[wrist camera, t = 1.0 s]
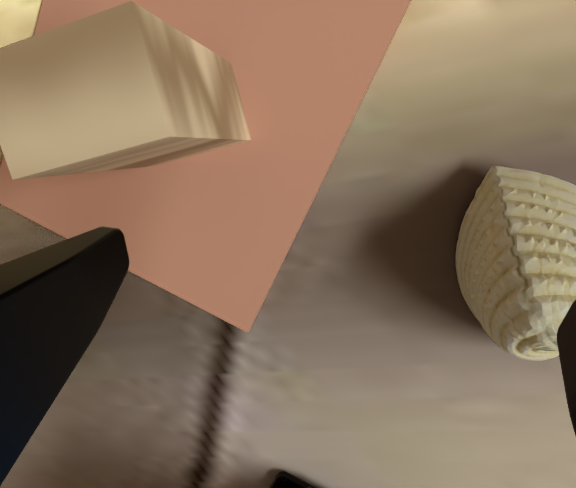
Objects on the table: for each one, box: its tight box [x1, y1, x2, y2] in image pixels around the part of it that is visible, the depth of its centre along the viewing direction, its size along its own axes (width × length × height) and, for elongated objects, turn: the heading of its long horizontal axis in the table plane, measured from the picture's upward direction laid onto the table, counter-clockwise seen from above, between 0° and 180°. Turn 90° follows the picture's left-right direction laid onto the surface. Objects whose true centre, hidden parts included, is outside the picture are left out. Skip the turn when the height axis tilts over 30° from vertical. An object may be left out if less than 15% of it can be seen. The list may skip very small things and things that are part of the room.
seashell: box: [455, 165, 576, 361], centre depth 20 cm, size 8×8×8 cm
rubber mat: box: [0, 0, 411, 333], centre depth 23 cm, size 20×18×1 cm
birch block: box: [0, 1, 251, 180], centre depth 18 cm, size 4×6×10 cm, turn 104°
